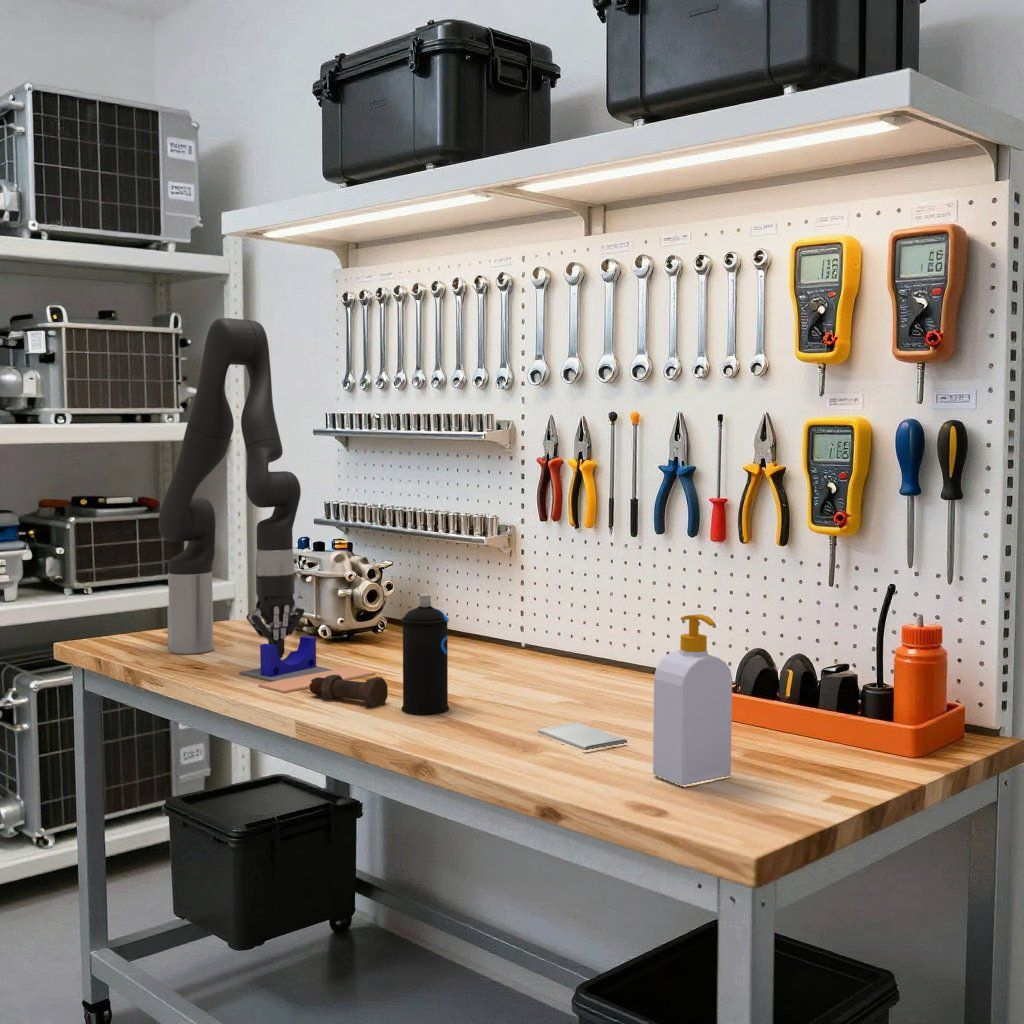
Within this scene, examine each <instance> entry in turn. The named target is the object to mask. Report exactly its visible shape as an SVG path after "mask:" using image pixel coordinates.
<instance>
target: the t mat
mask: <svg viewBox="0 0 1024 1024" xmlns="http://www.w3.org/2000/svg"><path fill="white" fill-rule="evenodd" d="M238 674H239V675H242V676H246V677H250V678H254V679H258V680H262V681H267V682H263V683H259V684H258V687H259V688H263V689H267V690H271V691H275V692H278V693H283V694H287V693H291V692H296V691H302V690H306V689H310V688H309V687H310V683H312V682H311V680H312V679H314V678H318V677H320V678H325V677H327V676H329V675H340V676H341V677H342V679H343V680H348V681H351V680H354V679H358V678H364V677H370V676H374V675H375V676H376V672H374V671H370V670H365V669H361V668H357V667H352V666H347V667H341V668H335V669H333V668H332V669H331V668H326V667H322V666H317V665H316V667H314V668H309V669H305V670H300V671H296V672H292V673H287V674H283V675H278V676H274V677H268V676H262V675H261V668H260V667H259V668H254V669H253V668H252V669H248V670H243V671H239V672H238Z"/></svg>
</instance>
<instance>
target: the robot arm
mask: <svg viewBox="0 0 1024 1024" xmlns="http://www.w3.org/2000/svg"><path fill="white" fill-rule="evenodd" d="M204 343H205V344H204V349H203V354H202V355H203V356H202V361H201V367H200V374H199V379H198V383H197V387H196V392H195V396H194V400H193V403H192V407H191V411H190V414H189V417H188V420H187V424H186V427H185V431H184V435H183V440H182V444H181V448H180V452H179V455H178V458H177V463H176V466H175V469H174V473H173V475H172V478H171V480H170V483H169V486H168V488H167V491H166V493H165V495H164V499H163V501H162V503H161V506H160V511H159V515H158V531H159V533H160V536H161V537H162V539H164V540H165V541H167V542H171V543H177V542H180V543H181V542H182V543H183V542H187V546H186V547H185V549H183V551H181V552H180V553H178V554H177V555H175V556H173V557H171V558H170V559H169V561H168V563H167V573H168V575H167V576H168V578H167V579H168V580H167V581H168V606H167V608H166V609H167V615H166V616H167V649H168V650H169V652H170V653H174V654H183V655H191V654H201V653H207V652H212V651H213V650H214V607H213V606H214V605H213V603H214V601H213V600H214V597H213V593H214V592H213V563H214V558H215V554H216V553H215V552H216V551H215V550H216V549H215V548H216V523H217V521H216V514H215V508H214V506H213V504H212V503H211V502H210V500H209V499H207V498H203V497H194V495H195V493H196V491H197V489H198V487H199V486H200V485H201V483H202V482H203V481H204V480H205V479H206V478H207V477H208V476H209V474H211V473H212V471H213V470H215V468H216V467H217V466H218V465H219V464H220V463H221V462H222V460H223V459H224V457H225V456H226V454H227V451H228V450H229V449H228V448H229V445H230V442H231V438H232V435H233V432H234V427H235V423H234V416H233V413H232V412H233V411H232V410H231V407H230V404H229V401H228V397H227V395H226V388H225V385H226V378H227V373H228V370H229V367H230V366H231V365H232V366H233V365H235V366H245V368H246V371H247V375H248V379H249V387H248V394H247V397H246V399H245V402H244V406H243V409H242V412H241V418H240V425H241V426H240V427H241V433H242V437H243V438H242V439H243V442H244V445H245V446H244V447H245V450H246V455H247V456H246V460H247V461H246V481H245V482H246V483H245V484H246V485H245V486H246V487H245V489H246V490H245V491H246V495H247V498H248V499H249V501H250V502H251V503H252V505H254V506H255V507H257V508H264V509H265V508H274V509H273V511H272V514H271V516H270V517H268V518H265V519H263V520H260V521H259V522H258V523H257V524H256V525H257V526H256V556H255V585H256V586H255V589H256V590H255V593H256V595H257V600H256V601H257V602H256V604H255V609H254V611H253V612H252V613H247V615H246V617H245V618H246V621H248V623H249V624H250V626H252V628H253V629H254V631H255V632H256V633H257V634H258V636H259V637H261V638H265V639H267V641H268V643H267V644H271V645H277V652H278V655H279V657H280V659H282V658H283V656H284V654H285V639H286V637H288V636H291V635H292V634H293V633H294V631H295V630H296V628H297V626H298V624H299V623H300V621H301V619H302V618H303V616H304V614H305V609H304V608H301V607H299V606H298V605H296V601H295V598H294V594H295V592H296V591H295V587H296V586H295V558H294V557H295V556H294V549H293V548H294V545H293V543H294V542H293V541H294V540H293V539H294V538H293V528H294V524H295V520H296V516H297V512H298V507H299V505H300V501H301V500H300V499H301V493H302V489H301V484H300V481H299V479H298V477H297V476H296V475H295V474H294V473H293V472H291V471H287V470H286V471H285V470H284V471H283V470H282V471H269V464H270V463H273V462H275V461H277V460H279V459H280V458H282V456H283V454H284V453H283V452H284V451H283V445H282V442H281V436H280V433H279V428H278V423H277V420H276V419H277V418H276V414H275V408H274V401H273V400H274V399H273V386H272V385H273V383H272V370H271V359H270V347H269V341H268V336H267V332H266V330H265V328H264V326H263V325H262V324H261V323H260V322H258V321H256V320H251V319H241V318H231V317H220V318H217V319H215V320H214V321H213V322H212V323H211V325H210V327H209V328H208V331H207V335H206V338H205V342H204Z"/></svg>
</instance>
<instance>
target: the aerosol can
mask: <svg viewBox="0 0 1024 1024" xmlns="http://www.w3.org/2000/svg"><path fill="white" fill-rule="evenodd" d="M431 597H432V595H431V594H429V593H421V594H419V598H418V599H419V600H418V602H419V605H418V606H417V607H415V608H412V609H410V610H409V611H408V612H407V613H406V614H405V615H404V617H401V619H400V621H401V623H402V706H401V711H402V712H403V713H406V714H409V715H415V716H432V715H433V716H434V715H438V714H439V715H440V714H443V713H447V712H448V711H449V709H450V705H448V704H449V703H448V702H449V701H448V700H449V699H448V690H449V687H448V684H449V683H448V681H449V680H448V678H449V677H448V674H449V673H448V671H449V670H448V669H449V668H448V666H449V665H448V663H449V661H448V655H449V654H448V650H449V649H448V639H449V638H448V634H449V633H448V631H449V630H448V622H450V621H449V620H450V618H449V617H447V616H446V614H445V613H444V612H443V611H442V610H440V609H438V608H435V607H433V606H432V604H431V603H432V602H431Z"/></svg>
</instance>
